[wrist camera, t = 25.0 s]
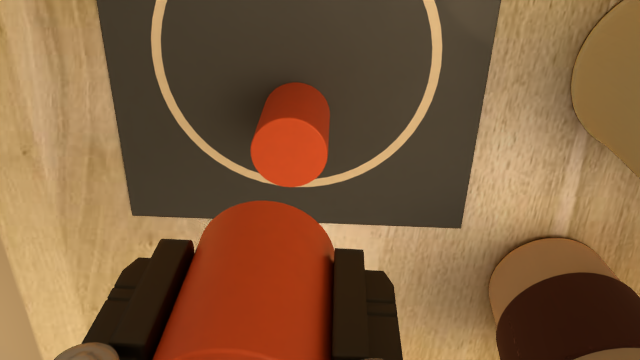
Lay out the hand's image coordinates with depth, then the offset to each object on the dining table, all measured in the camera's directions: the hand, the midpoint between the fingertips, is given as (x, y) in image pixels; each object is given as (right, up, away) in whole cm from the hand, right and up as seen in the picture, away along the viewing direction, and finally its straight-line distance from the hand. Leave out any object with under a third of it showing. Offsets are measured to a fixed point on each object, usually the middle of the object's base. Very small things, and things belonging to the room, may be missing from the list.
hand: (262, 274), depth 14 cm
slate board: (0, +9, +15) cm, 17 cm away
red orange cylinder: (0, +6, +16) cm, 17 cm away
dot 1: (0, 0, +1) cm, 1 cm away
